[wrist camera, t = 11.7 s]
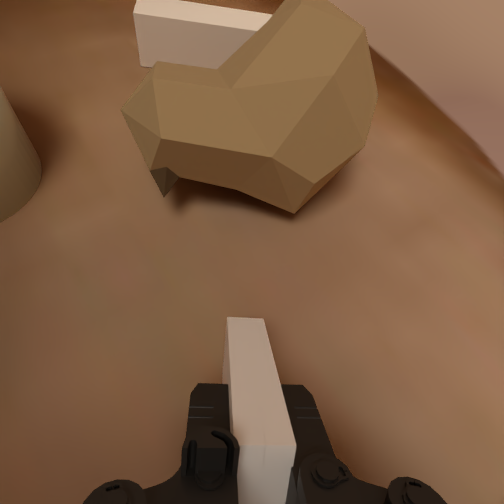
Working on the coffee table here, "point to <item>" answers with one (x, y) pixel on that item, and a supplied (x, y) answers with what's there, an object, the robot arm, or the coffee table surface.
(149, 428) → the coffee table surface
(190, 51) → the rail
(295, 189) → the low-poly potato
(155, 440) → the coffee table surface
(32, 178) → the pale green egg
